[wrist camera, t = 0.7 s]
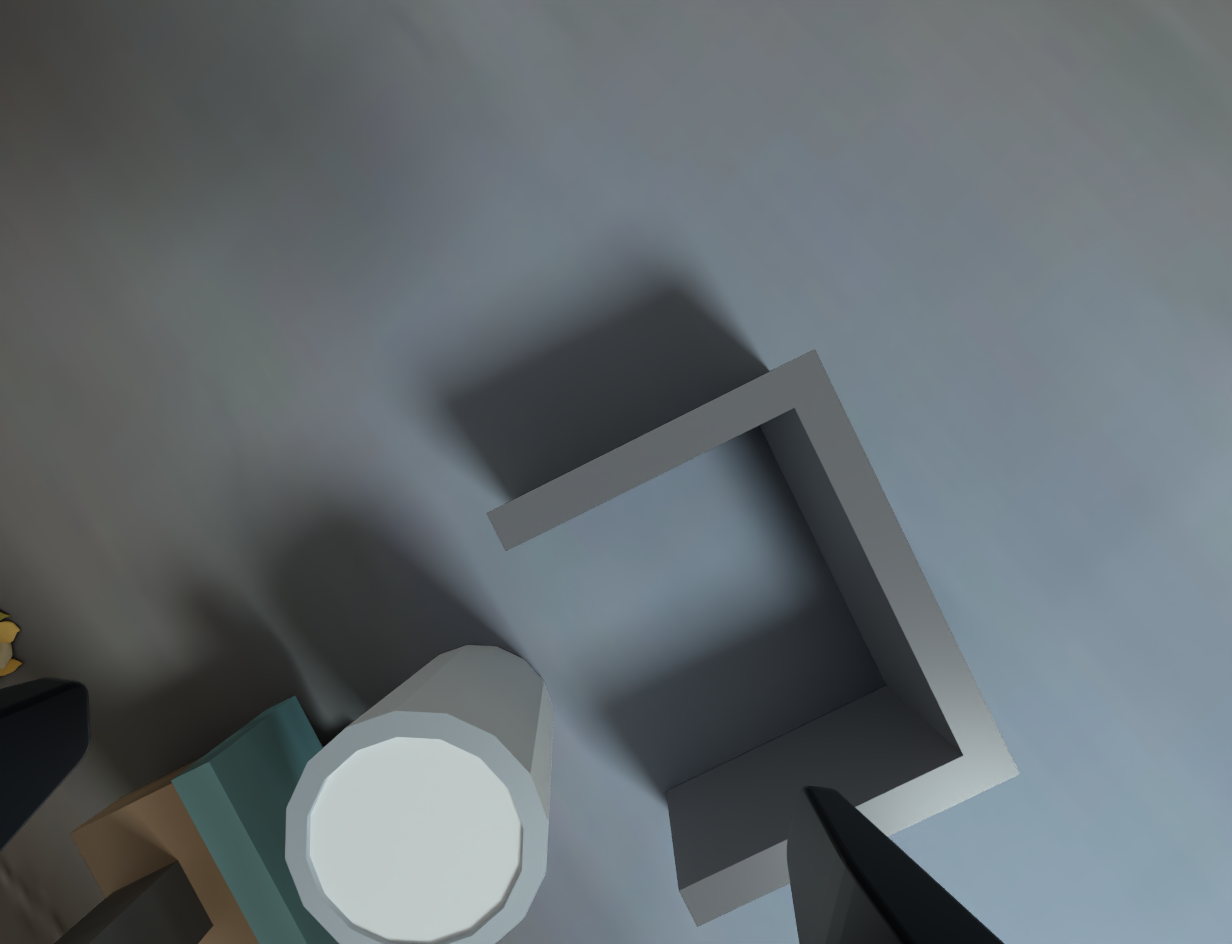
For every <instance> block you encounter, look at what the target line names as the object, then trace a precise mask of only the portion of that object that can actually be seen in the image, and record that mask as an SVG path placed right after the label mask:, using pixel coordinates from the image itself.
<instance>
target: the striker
mask: <svg viewBox="0 0 1232 944" xmlns="http://www.w3.org/2000/svg"><path fill="white" fill-rule="evenodd" d="M322 749H323V747H322V745H321V743H320V741H319V739H318V738H317V736H316V734H315V732H314V730H313V728H312V726H311V724H310V723H309V721H308V719H307V717H306V715H305V713H304V711H303V709H302V707H301V706H300V704H299V702H298V700H297V698H296V696H293V697H291V698H289V699H287V700H285V701H283V702H281V703H279V704H277V705H275V706H273V707H271V708H269V709H267V710H265V711H263V712H262V713H261V714H259V715H258V716H257V717H255V718H254V719H253V720H251V721H250V722H249V723H247V724H246V725H245V726H243V727H242V728H241V729H239V730H238V731H237V732H235V733H234V734H233V735H231V736H230V737H229V738H227V739H226V740H224V741H223V742H222V743H220V744H219V745H218V746H216V747H215V748H214V749H212V750H211V751H210V752H208V753H207V754H206V755H204V756H203V757H202V758H200V759H198V760H196V761H194V762H192V763H190V764H188V765H186V766H184V767H182V768H179V769H177V770H175V771H173V772H171V773H169V774H167V775H165V776H163V777H161V778H159V779H157V780H155V781H153V782H151V783H149V784H147V785H145V786H143V787H141V788H139V789H137V790H135V791H133V792H131V793H129V794H127V795H125V796H123V797H121V798H120V799H118V800H117V801H115V802H114V803H113V804H111V805H110V806H108V807H107V808H105V809H104V810H103V811H101V812H100V813H98V814H97V815H96V816H94V817H93V818H91V819H90V820H88V821H87V822H86V823H84V824H83V825H81V826H80V827H79V828H77V829H76V830H74V831H73V832H71V833H70V835H71V837H72V839H73V840H74V842H75V844H76V846H77V848H78V849H79V851H80V853H81V855H82V857H83V859H84V860H85V862H86V864H87V866H88V868H89V869H90V871H91V873H92V875H93V877H94V878H95V880H96V882H97V884H98V886H99V888H100V889H101V891H102V893H103V895H104V897H105V898H106V899H104V900H103V901H102V902H101V903H100V904H99V905H98V906H96V907H95V908H94V909H93V910H92V911H91V912H90V913H88V914H87V915H86V916H85V917H84V918H83V919H82V920H81V921H79V922H78V923H77V924H76V925H75V926H74V927H73V928H71V929H70V930H69V931H68V932H67V933H66V934H65V935H63V936H62V937H61V938H60V939H59V940H58V941H57V942H56V943H54V944H339V943H338V942H337V941H336V940H335V939H334V938H333V937H332V936H331V935H330V933H329V932H328V931H327V930H326V929H325V928H324V927H323V926H322V925H321V924H320V923H319V922H318V921H317V920H316V919H315V918H314V917H313V916H312V915H311V913H310V912H309V911H308V910H307V909H306V908H305V907H304V906H303V903H302V901H301V898H300V896H299V893H298V891H297V888H296V886H295V883H294V880H293V878H292V875H291V873H290V870H289V868H288V865H287V863H286V860H285V839H286V808H287V806H288V803H289V801H290V799H291V797H292V795H293V793H294V790H295V788H296V786H297V784H298V782H299V780H300V777H301V775H302V773H303V771H304V769H305V767H306V764H307V762H308V761H309V760H310V759H312V758H313V757H314V756H315V755H316V754H317V753H318V752H319V751H320V750H322Z"/></svg>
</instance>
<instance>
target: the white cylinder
mask: <svg viewBox="0 0 1232 944" xmlns="http://www.w3.org/2000/svg"><path fill="white" fill-rule="evenodd" d="M553 721H554V707H553V704H552V701H551V699H550V696H549V693H548V691H547V688H546V685H545V682H544V680H543V679H542V678H541V677H540V676H539V675H538V674H537V673H536V672H535V671H534V670H533V668H532V667H531V666H530V665H529V664H528V663H527V662H526V661H525V660H524V659H523V658H520V657H518V656H516V655H514V654H512V653H510V652H508V651H506V650H503V649H501V648H499V647H497V646H479V645H465V646H462V647H460V648H457V649H454V650H451V651H448V652H445V653H442V654H440V655H438V656H437V657H436V658H434V659H433V660H432V661H430V662H429V663H428V664H427V665H425V666H424V667H423V668H421V669H420V670H419V671H418V672H416V673H415V674H414V675H413V676H411V677H410V678H409V679H407V680H406V681H405V682H404V683H402V684H401V685H400V686H398V687H397V688H396V689H395V690H393V691H392V692H391V693H389V694H388V695H387V696H386V697H384V698H383V699H382V700H381V701H379V702H378V703H377V704H375V705H374V706H373V707H372V708H370V709H369V710H368V711H366V712H365V713H364V714H363V715H361V716H360V717H359V718H358V719H356V720H355V721H354V722H352V723H351V724H350V725H349V726H347V727H346V728H345V729H344V730H343V731H342V732H340V733H339V734H338V735H337V736H336V737H335V738H334V739H333V740H332V741H330V742H329V743H328V744H327V745H326V746H325V747H324V748H323V749H322V750H320V751H319V752H318V753H317V754H316V755H315V756H314V757H313V758H312V759H310V760H309V761H308V762H307V764H306V767H305V769H304V771H303V773H302V775H301V777H300V780H299V782H298V784H297V786H296V788H295V790H294V793H293V795H292V797H291V799H290V801H289V803H288V806H287V808H286V839H285V860H286V863H287V865H288V868H289V870H290V873H291V875H292V878H293V880H294V883H295V886H296V888H297V891H298V893H299V896H300V898H301V901H302V903H303V906H304V907H305V908H306V909H307V910H308V911H309V912H310V913H311V915H312V916H313V917H314V918H315V919H316V920H317V921H318V922H319V923H320V924H321V925H322V926H323V927H324V928H325V929H326V930H327V931H328V932H329V933H330V935H331V936H332V937H333V938H334V939H335V940H336V941H337V942H338V943H339V944H495V943H496V942H497V941H499V940H500V939H501V938H502V937H503V936H504V935H505V934H507V933H508V932H509V931H510V930H511V929H512V928H513V927H515V926H516V925H517V924H518V923H519V922H520V921H521V920H523V919H524V917H525V915H526V913H527V911H528V909H529V907H530V905H531V903H532V901H533V899H534V897H535V895H536V893H537V890H538V888H539V886H540V884H541V882H542V880H543V878H544V876H545V874H546V863H547V843H548V823H549V803H550V782H551V762H552V742H553Z"/></svg>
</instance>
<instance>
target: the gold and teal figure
mask: <svg viewBox="0 0 1232 944" xmlns="http://www.w3.org/2000/svg"><path fill="white" fill-rule="evenodd" d="M6 617H9V615H6V614H3V613H1V612H0V621H1V620H2V619H4V618H6ZM19 631H20V630H19V628H18V627H17V626H16V625H15V623H13V622H10V621H4V622H0V676H4V675H6V674H9V673H11V672H13V671H15V670H16V669H17V668H18V666H19V665H21V664H23V663H20V662H19V661H17V660H16V659H11V657H12V655H13V654H12V645H11V642H12V641H13V640H14V638H15V636H16V634H17V632H19Z"/></svg>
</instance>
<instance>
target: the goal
mask: <svg viewBox="0 0 1232 944" xmlns="http://www.w3.org/2000/svg"><path fill="white" fill-rule="evenodd" d="M757 426H760V428H761V430H762V432H763V434H764V436H765V438H766V440H767V442H768V444H769V446H770V448H771V450H772V452H773V454H774V457H775V459H776V461H777V463H778V465H779V467H780V469H781V471H782V473H783V475H784V477H785V479H786V481H787V483H788V485H789V487H790V489H791V491H792V493H793V495H794V497H795V500H796V502H797V504H798V506H799V508H800V510H801V512H802V514H803V516H804V518H805V520H806V522H807V524H808V526H809V528H810V530H811V532H812V534H813V536H814V538H815V540H816V542H817V545H818V547H819V549H820V551H821V553H822V555H823V557H824V559H825V561H826V563H827V565H828V567H829V569H830V571H831V573H832V575H833V577H834V579H835V581H836V583H837V585H838V588H839V590H840V592H841V594H842V596H843V598H844V600H845V602H846V604H847V606H848V608H849V610H850V612H851V614H852V616H853V618H854V620H855V622H856V624H857V626H858V628H859V631H860V633H861V635H862V637H863V639H864V641H865V643H866V645H867V647H868V649H869V651H870V653H871V655H872V657H873V659H874V661H875V663H876V665H877V667H878V669H879V671H880V674H881V676H882V678H883V680H884V682H885V684H886V686H884V687H882V688H880V689H878V690H876V691H874V692H872V693H869V694H867V695H865V696H863V697H861V698H859V699H857V700H855V701H853V702H851V703H849V704H847V705H844V706H842V707H840V708H838V709H836V710H834V711H832V712H830V713H828V714H826V715H824V716H822V717H820V718H817V719H815V720H813V721H811V722H809V723H807V724H805V725H803V726H801V727H799V728H797V729H795V730H792V731H790V732H788V733H786V734H784V735H782V736H780V737H778V738H776V739H774V740H772V741H770V742H767V743H765V744H763V745H761V746H759V747H757V748H755V749H753V750H751V751H749V752H747V753H745V754H743V755H740V756H738V757H736V758H734V759H732V760H730V761H728V762H726V763H724V764H722V765H720V766H718V767H715V768H713V769H711V770H709V771H707V772H705V773H703V774H701V775H699V776H697V777H695V778H693V779H691V780H688V781H686V782H684V783H682V784H680V785H678V786H676V787H674V788H672V789H670V790H668V791H666V795H667V802H668V810H669V818H670V826H671V833H672V841H673V849H674V856H675V864H676V872H677V880H678V887H679V892H680V894H681V896H682V898H683V900H684V902H685V904H686V906H687V908H688V910H689V911H690V913H691V915H692V917H693V919H694V921H695V923H696V925H697V927H698V926H700V925H702V924H704V923H707V922H709V921H711V920H713V919H715V918H717V917H719V916H721V915H723V914H726V913H728V912H730V911H732V910H734V909H736V908H738V907H740V906H742V905H745V904H747V903H749V902H751V901H753V900H755V899H757V898H759V897H761V896H764V895H766V894H768V893H770V892H772V891H774V890H776V889H778V888H781V887H783V886H785V885H787V884H789V883H790V878H789V872H788V865H787V840H788V835H789V831H790V827H791V822H792V818H793V813H794V809H795V805H796V800H797V796H798V793H799V791H800V789H801V788H802V787H804V786H805V785H810V786H817V787H824V788H831V789H834V790H836V791H838V792H839V793H840V794H841V795H842V796H844V797H845V798H846V799H847V800H848V801H849V802H850V803H851V804H852V805H853V806H854V807H856V808H857V809H858V810H859V811H860V812H861V813H862V814H863V815H864V816H865V817H867V818H868V819H869V820H870V821H871V822H872V823H873V824H874V825H875V826H876V827H877V828H879V829H880V830H881V831H882V832H883V833H884V834H885V835H886V836H887V837H888V836H891V835H893V834H895V833H897V832H899V831H901V830H903V829H905V828H907V827H910V826H912V825H914V824H916V823H918V822H920V821H922V820H924V819H926V818H929V817H931V816H933V815H935V814H937V813H939V812H941V811H943V810H945V809H948V808H950V807H952V806H954V805H956V804H958V803H960V802H962V801H965V800H967V799H969V798H971V797H973V796H975V795H977V794H979V793H981V792H984V791H986V790H988V789H990V788H992V787H994V786H996V785H998V784H1000V783H1003V782H1005V781H1007V780H1009V779H1011V778H1013V777H1015V776H1017V775H1020V773H1019V771H1018V769H1017V767H1016V765H1015V763H1014V761H1013V759H1012V757H1011V755H1010V753H1009V751H1008V749H1007V746H1006V744H1005V742H1004V740H1003V738H1002V736H1001V734H1000V732H999V730H998V728H997V726H996V724H995V722H994V720H993V717H992V715H991V713H990V711H989V709H988V707H987V705H986V703H985V701H984V699H983V697H982V695H981V693H980V690H979V688H978V686H977V684H976V682H975V680H974V678H973V676H972V674H971V672H970V670H969V668H968V666H967V664H966V661H965V659H964V657H963V655H962V653H961V651H960V649H959V647H958V645H957V643H956V641H955V639H954V637H953V634H952V632H951V630H950V628H949V626H948V624H947V622H946V620H945V618H944V616H943V614H942V612H941V610H940V608H939V605H938V603H937V601H936V599H935V597H934V595H933V593H932V591H931V589H930V587H929V585H928V583H927V581H926V578H925V576H924V574H923V572H922V570H921V568H920V566H919V564H918V562H917V560H916V558H915V556H914V554H913V552H912V549H911V547H910V545H909V543H908V541H907V539H906V537H905V535H904V533H903V531H902V529H901V527H900V525H899V522H898V520H897V518H896V516H895V514H894V512H893V510H892V508H891V506H890V504H889V502H888V500H887V498H886V496H885V493H884V491H883V489H882V487H881V485H880V483H879V481H878V479H877V477H876V475H875V473H874V471H873V469H872V466H871V464H870V462H869V460H868V458H867V456H866V454H865V452H864V450H863V448H862V446H861V444H860V442H859V440H858V437H857V435H856V433H855V431H854V429H853V427H852V425H851V423H850V421H849V419H848V417H847V415H846V413H845V410H844V408H843V406H842V404H841V402H840V400H839V398H838V396H837V394H836V392H835V390H834V388H833V386H832V384H831V381H830V379H829V377H828V375H827V373H826V371H825V369H824V367H823V365H822V363H821V361H820V359H819V357H818V355H817V352H816V350H815V349H814V350H812V351H810V352H808V353H806V354H804V355H802V356H800V357H798V358H796V359H794V360H792V361H790V362H788V363H786V364H784V365H782V366H780V367H778V368H775V369H773V370H771V371H769V372H767V373H765V374H763V375H761V376H759V377H757V378H755V379H753V380H751V381H749V382H747V383H745V384H743V385H741V386H739V387H737V388H735V389H733V390H731V391H729V392H727V393H725V394H723V395H721V396H719V397H717V398H715V399H713V400H711V401H709V402H707V403H705V404H703V405H701V406H699V407H697V408H695V409H693V410H691V411H689V412H687V413H685V414H683V415H681V416H679V417H677V418H675V419H673V420H671V421H669V422H667V423H665V424H663V425H661V426H659V427H657V428H655V429H653V430H651V431H649V432H647V433H645V434H643V435H641V436H639V437H637V438H635V439H633V440H631V441H629V442H627V443H625V444H623V445H621V446H619V447H617V448H615V449H613V450H611V451H609V452H607V453H605V454H603V455H601V456H599V457H597V458H595V459H593V460H591V461H589V462H587V463H585V464H583V465H581V466H579V467H577V468H575V469H573V470H571V471H569V472H567V473H565V474H563V475H561V476H559V477H557V478H555V479H553V480H551V481H549V482H547V483H545V484H543V485H541V486H539V487H537V488H535V489H533V490H531V491H529V492H527V493H525V494H523V495H521V496H519V497H517V498H515V499H513V500H511V501H509V502H507V503H506V504H504V505H502V506H500V507H498V508H496V509H494V510H492V511H490V512H488V513H486V514H487V516H488V517H489V519H490V521H491V523H492V525H493V527H494V529H495V531H496V533H497V535H498V537H499V539H500V541H501V543H502V545H503V547H504V549H505V551H507V550H509V549H511V548H513V547H515V546H517V545H519V544H521V543H523V542H525V541H527V540H529V539H532V538H534V537H536V536H538V535H540V534H542V533H544V532H546V531H548V530H550V529H552V528H554V527H556V526H558V525H560V524H562V523H564V522H566V521H568V520H570V519H572V518H574V517H576V516H578V515H580V514H582V513H584V512H586V511H588V510H590V509H592V508H594V507H596V506H598V505H600V504H602V503H604V502H606V501H608V500H610V499H612V498H614V497H616V496H618V495H620V494H622V493H624V492H626V491H628V490H630V489H632V488H634V487H636V486H638V485H640V484H642V483H644V482H646V481H648V480H650V479H652V478H654V477H656V476H658V475H660V474H662V473H664V472H666V471H668V470H670V469H672V468H674V467H676V466H678V465H680V464H682V463H684V462H686V461H688V460H690V459H692V458H694V457H696V456H698V455H700V454H702V453H704V452H706V451H708V450H710V449H712V448H715V447H717V446H719V445H721V444H723V443H725V442H727V441H729V440H731V439H733V438H735V437H737V436H739V435H741V434H743V433H745V432H747V431H749V430H751V429H753V428H755V427H757Z"/></svg>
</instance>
